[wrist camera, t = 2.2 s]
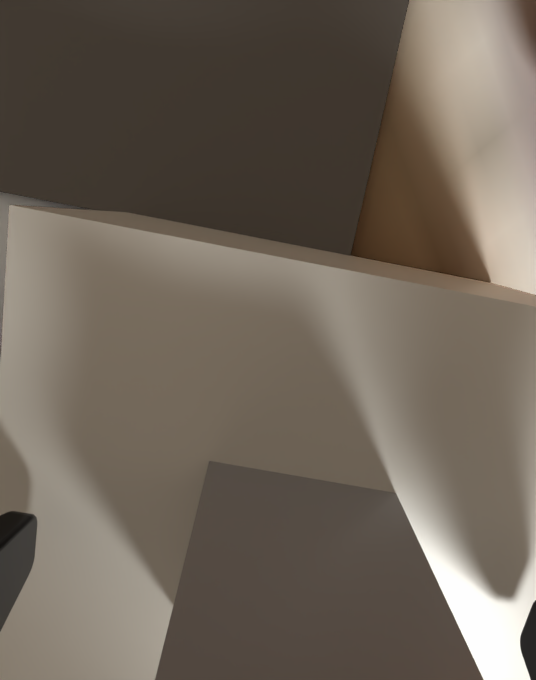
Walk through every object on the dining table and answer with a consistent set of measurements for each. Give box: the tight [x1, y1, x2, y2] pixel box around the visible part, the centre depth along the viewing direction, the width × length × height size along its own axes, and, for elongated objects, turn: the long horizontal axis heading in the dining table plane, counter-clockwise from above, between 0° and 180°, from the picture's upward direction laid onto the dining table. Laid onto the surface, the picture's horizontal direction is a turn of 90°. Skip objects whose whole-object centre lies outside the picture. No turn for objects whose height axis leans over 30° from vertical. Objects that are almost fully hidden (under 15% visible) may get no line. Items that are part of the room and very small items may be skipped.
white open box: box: [0, 205, 536, 680], centre depth 9 cm, size 10×10×10 cm
